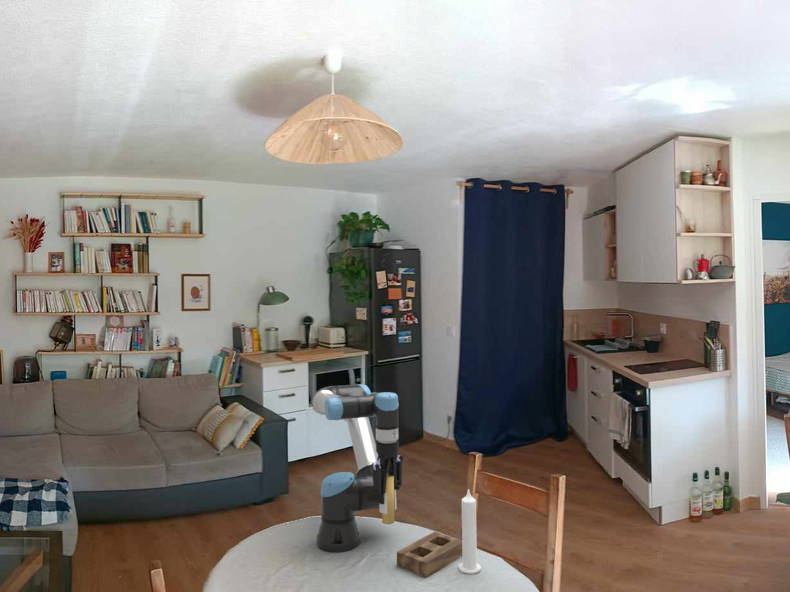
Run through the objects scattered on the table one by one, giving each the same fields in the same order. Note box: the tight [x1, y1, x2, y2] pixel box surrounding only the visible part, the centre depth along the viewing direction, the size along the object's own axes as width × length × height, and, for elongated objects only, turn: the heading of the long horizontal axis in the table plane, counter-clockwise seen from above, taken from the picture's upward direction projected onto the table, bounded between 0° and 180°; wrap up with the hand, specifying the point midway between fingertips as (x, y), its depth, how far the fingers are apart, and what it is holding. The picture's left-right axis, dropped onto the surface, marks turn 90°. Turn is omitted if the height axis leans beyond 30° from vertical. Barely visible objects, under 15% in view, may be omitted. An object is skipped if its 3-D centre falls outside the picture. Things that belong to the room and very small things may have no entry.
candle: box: [457, 489, 482, 575], centre depth 180 cm, size 7×7×25 cm
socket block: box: [396, 531, 462, 579], centre depth 186 cm, size 12×20×4 cm, turn 139°
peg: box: [381, 475, 395, 525], centre depth 189 cm, size 4×4×15 cm
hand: (388, 510), depth 189 cm, fingers closed on peg, 4 cm apart
